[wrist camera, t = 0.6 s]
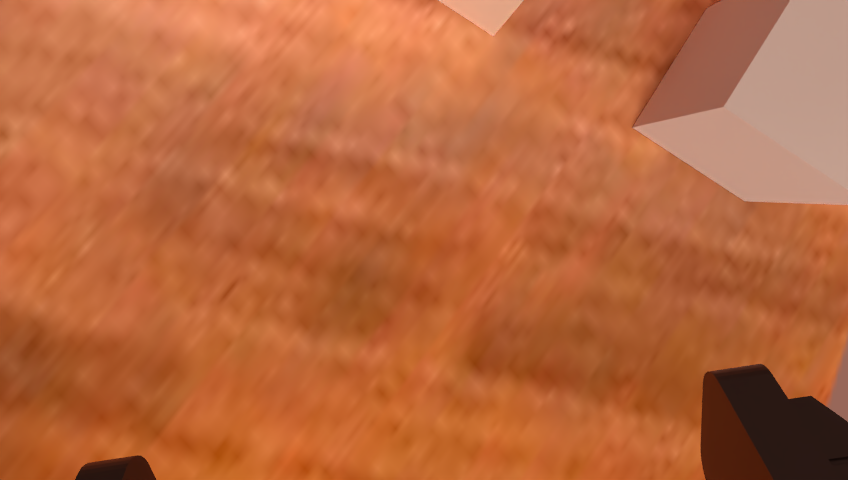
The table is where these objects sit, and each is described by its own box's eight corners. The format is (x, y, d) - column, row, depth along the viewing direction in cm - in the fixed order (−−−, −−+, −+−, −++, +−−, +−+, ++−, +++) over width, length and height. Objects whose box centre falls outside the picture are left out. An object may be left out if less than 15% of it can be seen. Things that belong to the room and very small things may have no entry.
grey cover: (632, 127, 35) (723, 106, 26) (706, 8, 35) (824, -54, 26) (744, 201, 36) (871, 205, 27) (817, 84, 36) (970, 49, 27)
